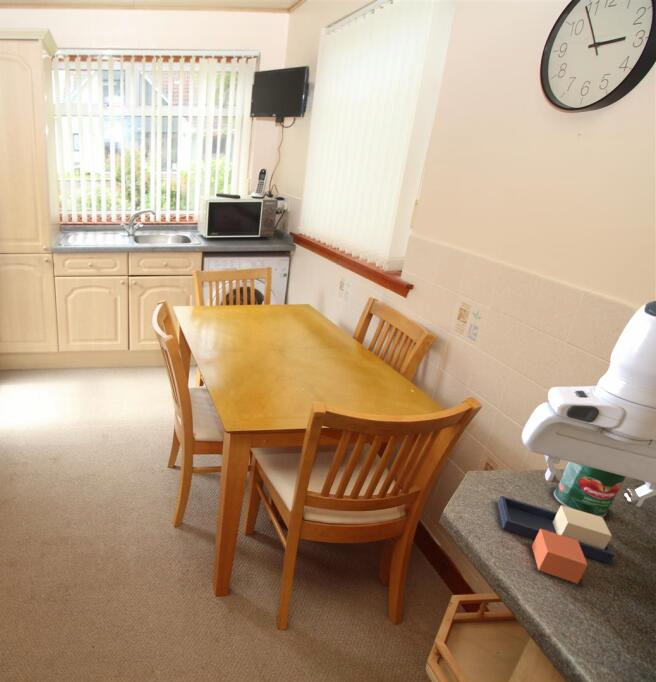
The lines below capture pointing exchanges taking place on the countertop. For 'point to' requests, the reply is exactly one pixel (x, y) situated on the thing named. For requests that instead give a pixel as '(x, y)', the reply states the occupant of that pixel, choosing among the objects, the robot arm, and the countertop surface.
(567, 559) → the orange block
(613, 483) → the canned tomato
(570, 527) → the cream block
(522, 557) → the countertop surface
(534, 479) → the countertop surface
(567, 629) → the countertop surface
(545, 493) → the countertop surface
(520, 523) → the frame
